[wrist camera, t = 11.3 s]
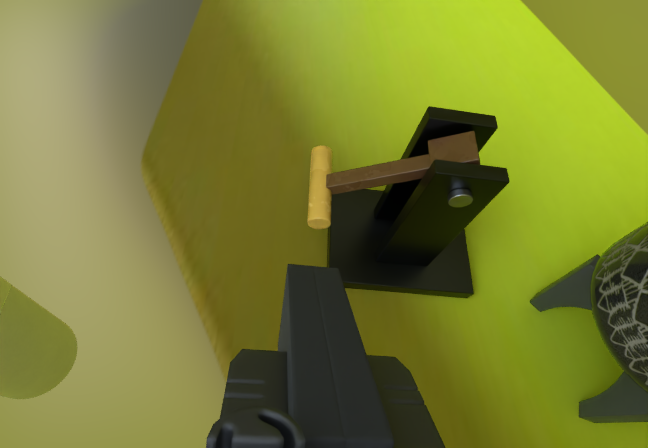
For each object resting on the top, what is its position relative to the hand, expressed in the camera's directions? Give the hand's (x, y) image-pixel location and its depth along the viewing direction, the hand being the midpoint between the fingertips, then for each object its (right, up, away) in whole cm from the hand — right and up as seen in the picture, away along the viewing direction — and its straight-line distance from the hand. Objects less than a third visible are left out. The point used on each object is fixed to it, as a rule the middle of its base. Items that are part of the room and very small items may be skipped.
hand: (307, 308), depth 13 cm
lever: (+5, +5, +16) cm, 18 cm away
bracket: (+7, +1, +24) cm, 25 cm away
